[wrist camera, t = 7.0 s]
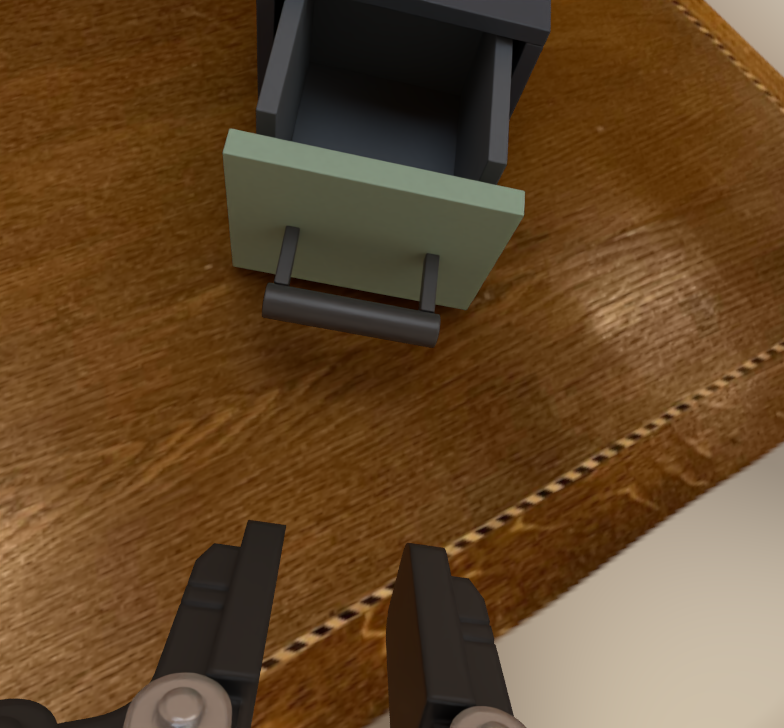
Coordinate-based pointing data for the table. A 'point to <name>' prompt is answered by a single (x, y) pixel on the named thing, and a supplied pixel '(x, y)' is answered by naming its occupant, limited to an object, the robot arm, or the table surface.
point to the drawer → (374, 168)
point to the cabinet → (454, 6)
